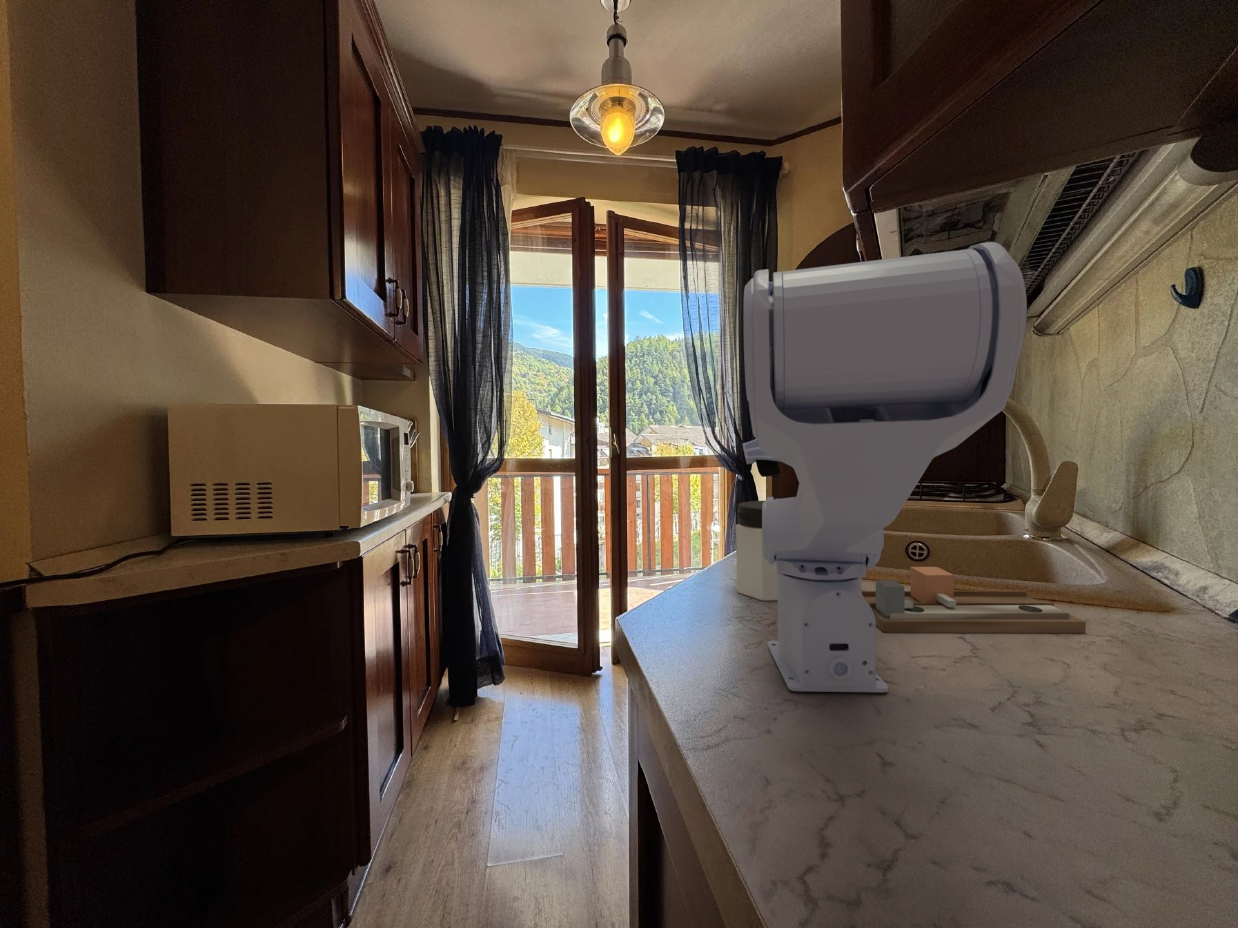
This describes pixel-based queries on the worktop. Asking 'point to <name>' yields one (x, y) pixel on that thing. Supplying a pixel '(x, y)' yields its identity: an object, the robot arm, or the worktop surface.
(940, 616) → the board
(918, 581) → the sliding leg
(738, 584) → the jar
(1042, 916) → the worktop surface
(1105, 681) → the worktop surface
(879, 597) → the fixed leg
